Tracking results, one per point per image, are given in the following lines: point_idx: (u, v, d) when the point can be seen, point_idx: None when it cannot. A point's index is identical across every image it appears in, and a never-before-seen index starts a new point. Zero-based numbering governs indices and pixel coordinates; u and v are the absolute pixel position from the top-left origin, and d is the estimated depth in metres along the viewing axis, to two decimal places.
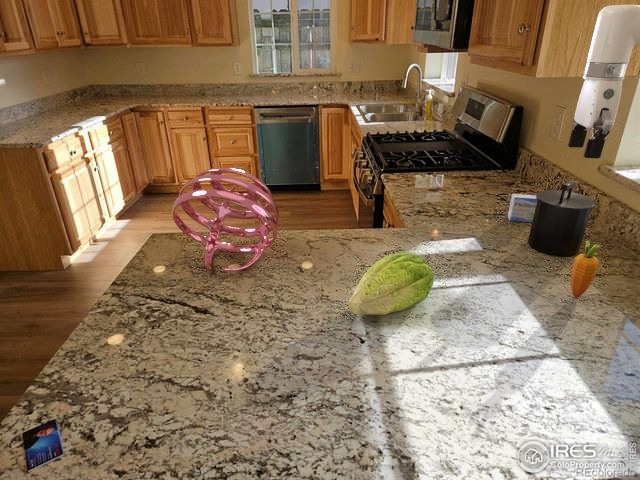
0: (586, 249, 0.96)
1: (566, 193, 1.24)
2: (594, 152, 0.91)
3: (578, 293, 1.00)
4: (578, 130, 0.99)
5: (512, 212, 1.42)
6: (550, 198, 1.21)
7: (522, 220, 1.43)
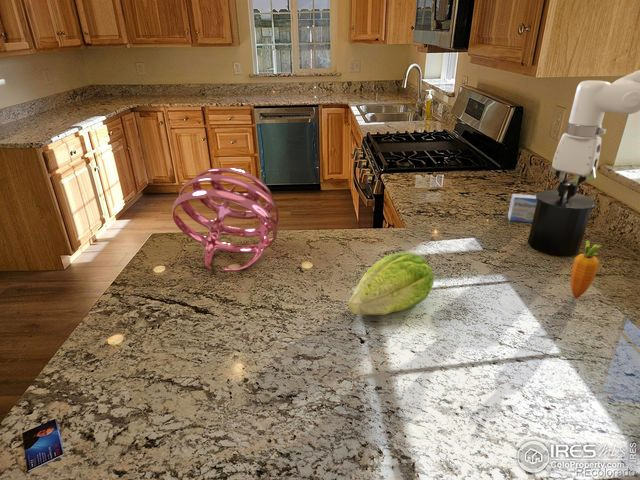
0: (586, 249, 0.96)
1: (566, 193, 1.24)
2: (574, 193, 1.18)
3: (578, 293, 1.00)
4: (565, 182, 1.19)
5: (512, 212, 1.42)
6: (550, 198, 1.21)
7: (522, 220, 1.43)
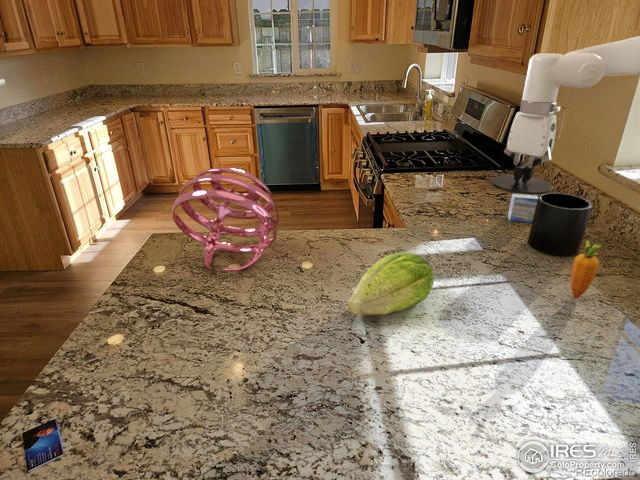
0: (586, 249, 0.96)
1: None
2: (530, 177, 1.10)
3: (578, 293, 1.00)
4: None
5: (512, 212, 1.42)
6: (505, 182, 1.13)
7: (522, 220, 1.43)
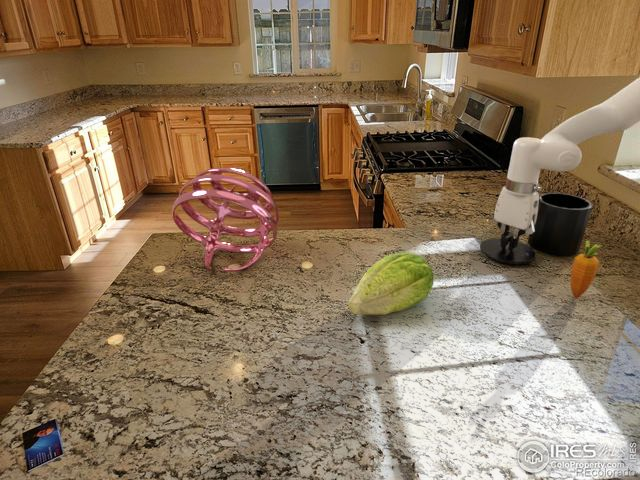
0: (586, 249, 0.96)
1: None
2: (515, 245, 1.19)
3: (578, 293, 1.00)
4: (506, 233, 1.19)
5: None
6: (493, 248, 1.22)
7: None
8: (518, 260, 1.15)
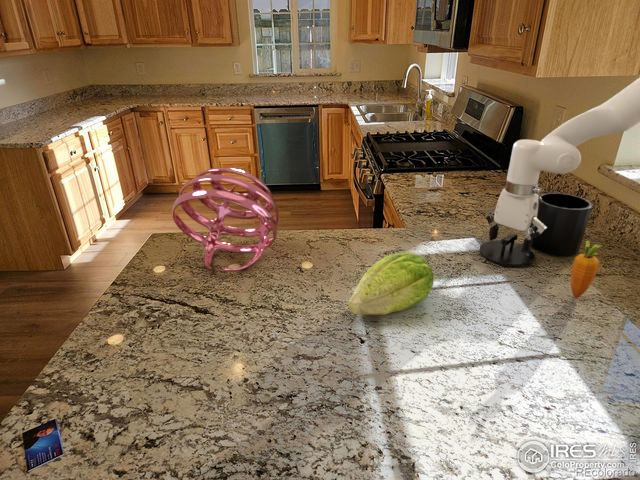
0: (586, 249, 0.96)
1: (510, 244, 1.25)
2: (529, 247, 1.16)
3: (578, 293, 1.00)
4: (495, 227, 1.22)
5: None
6: (492, 250, 1.22)
7: None
8: (517, 262, 1.16)
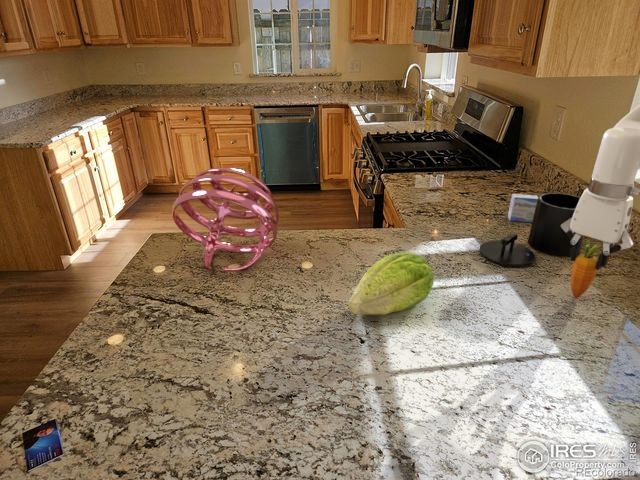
0: (586, 249, 0.96)
1: (510, 244, 1.25)
2: (605, 264, 0.95)
3: (578, 293, 1.00)
4: (578, 244, 0.98)
5: (512, 212, 1.42)
6: (492, 250, 1.22)
7: (522, 220, 1.43)
8: (517, 262, 1.16)
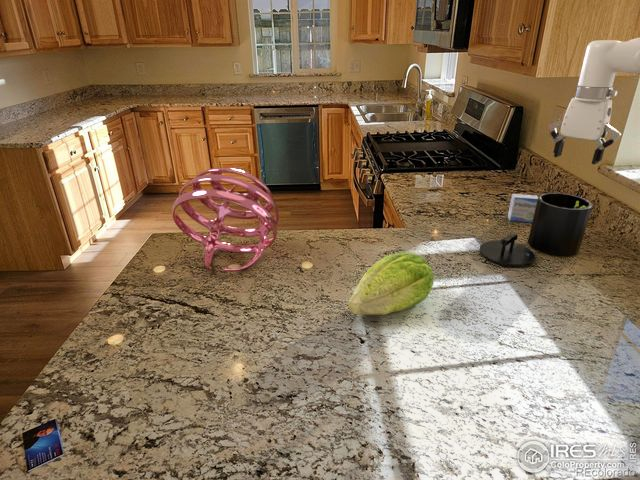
0: (575, 208, 1.18)
1: (510, 244, 1.25)
2: (600, 158, 1.11)
3: None
4: (561, 142, 1.17)
5: (512, 212, 1.42)
6: (492, 250, 1.22)
7: (522, 220, 1.43)
8: (517, 262, 1.16)
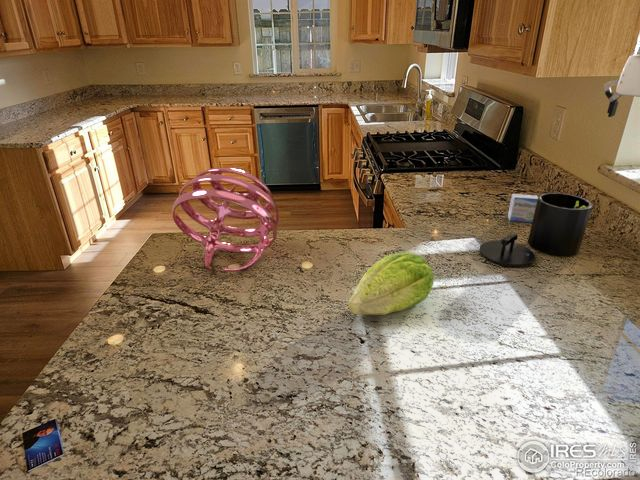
0: (575, 208, 1.18)
1: (510, 244, 1.25)
2: None
3: None
4: (615, 101, 1.17)
5: (512, 212, 1.42)
6: (492, 250, 1.22)
7: (522, 220, 1.43)
8: (517, 262, 1.16)
